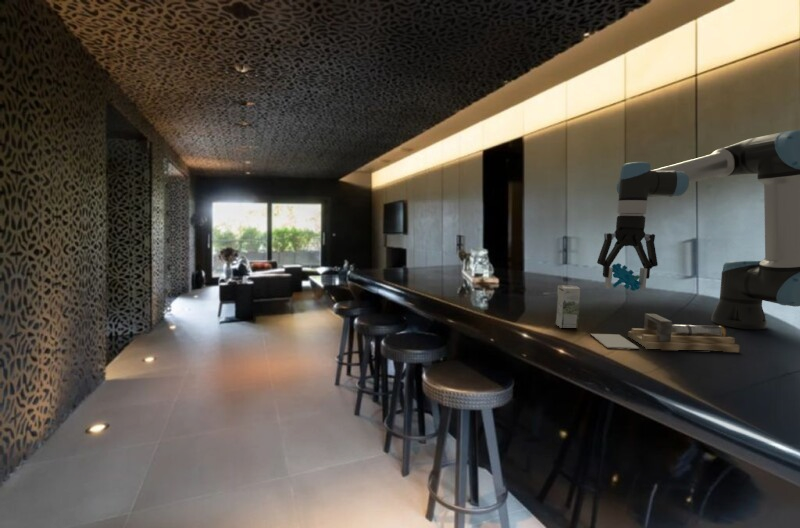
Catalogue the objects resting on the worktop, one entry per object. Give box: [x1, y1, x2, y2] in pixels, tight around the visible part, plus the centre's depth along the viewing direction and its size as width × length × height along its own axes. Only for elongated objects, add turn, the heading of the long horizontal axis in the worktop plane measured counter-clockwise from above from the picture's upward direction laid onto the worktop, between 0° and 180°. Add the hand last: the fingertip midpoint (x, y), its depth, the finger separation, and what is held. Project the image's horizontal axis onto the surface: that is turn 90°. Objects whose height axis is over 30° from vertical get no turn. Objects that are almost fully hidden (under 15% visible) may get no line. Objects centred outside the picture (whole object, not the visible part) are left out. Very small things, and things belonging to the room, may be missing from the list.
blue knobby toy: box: [611, 262, 641, 292], centre depth 124 cm, size 11×6×10 cm
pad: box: [590, 333, 640, 350], centre depth 123 cm, size 9×13×1 cm
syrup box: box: [555, 285, 581, 329], centre depth 139 cm, size 6×6×14 cm
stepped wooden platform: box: [627, 313, 741, 353], centre depth 121 cm, size 25×12×8 cm, turn 85°
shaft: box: [671, 324, 727, 337], centre depth 120 cm, size 15×4×4 cm, turn 85°
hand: (624, 288), depth 123 cm, fingers closed on blue knobby toy, 9 cm apart
